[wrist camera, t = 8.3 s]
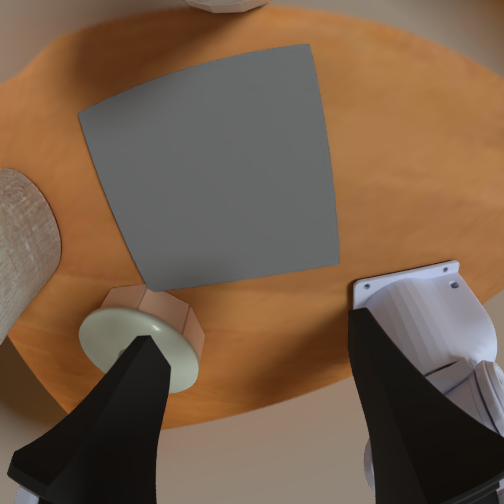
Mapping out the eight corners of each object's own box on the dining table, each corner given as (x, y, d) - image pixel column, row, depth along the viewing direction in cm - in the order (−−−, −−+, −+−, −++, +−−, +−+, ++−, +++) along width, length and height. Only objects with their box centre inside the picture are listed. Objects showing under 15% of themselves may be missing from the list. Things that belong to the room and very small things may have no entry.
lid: (175, 303, 18) (156, 364, 14) (213, 387, 23) (206, 436, 19) (62, 307, 19) (34, 352, 15) (115, 382, 24) (102, 423, 20)
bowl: (178, 278, 21) (167, 311, 18) (214, 354, 26) (209, 385, 23) (88, 291, 22) (71, 318, 19) (133, 357, 27) (123, 384, 24)
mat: (307, 45, 12) (309, 43, 12) (338, 259, 20) (339, 264, 19) (82, 111, 14) (77, 113, 14) (152, 287, 22) (150, 292, 21)
